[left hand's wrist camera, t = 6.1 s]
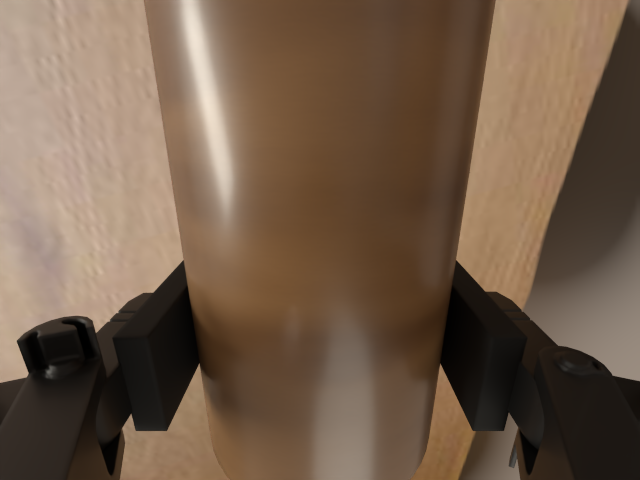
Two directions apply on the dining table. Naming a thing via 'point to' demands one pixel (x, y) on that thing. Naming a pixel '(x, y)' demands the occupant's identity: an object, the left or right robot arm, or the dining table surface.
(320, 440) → the rod
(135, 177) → the dining table surface
